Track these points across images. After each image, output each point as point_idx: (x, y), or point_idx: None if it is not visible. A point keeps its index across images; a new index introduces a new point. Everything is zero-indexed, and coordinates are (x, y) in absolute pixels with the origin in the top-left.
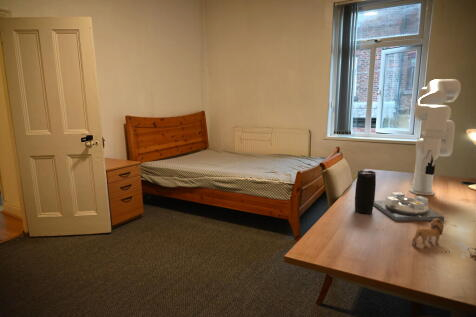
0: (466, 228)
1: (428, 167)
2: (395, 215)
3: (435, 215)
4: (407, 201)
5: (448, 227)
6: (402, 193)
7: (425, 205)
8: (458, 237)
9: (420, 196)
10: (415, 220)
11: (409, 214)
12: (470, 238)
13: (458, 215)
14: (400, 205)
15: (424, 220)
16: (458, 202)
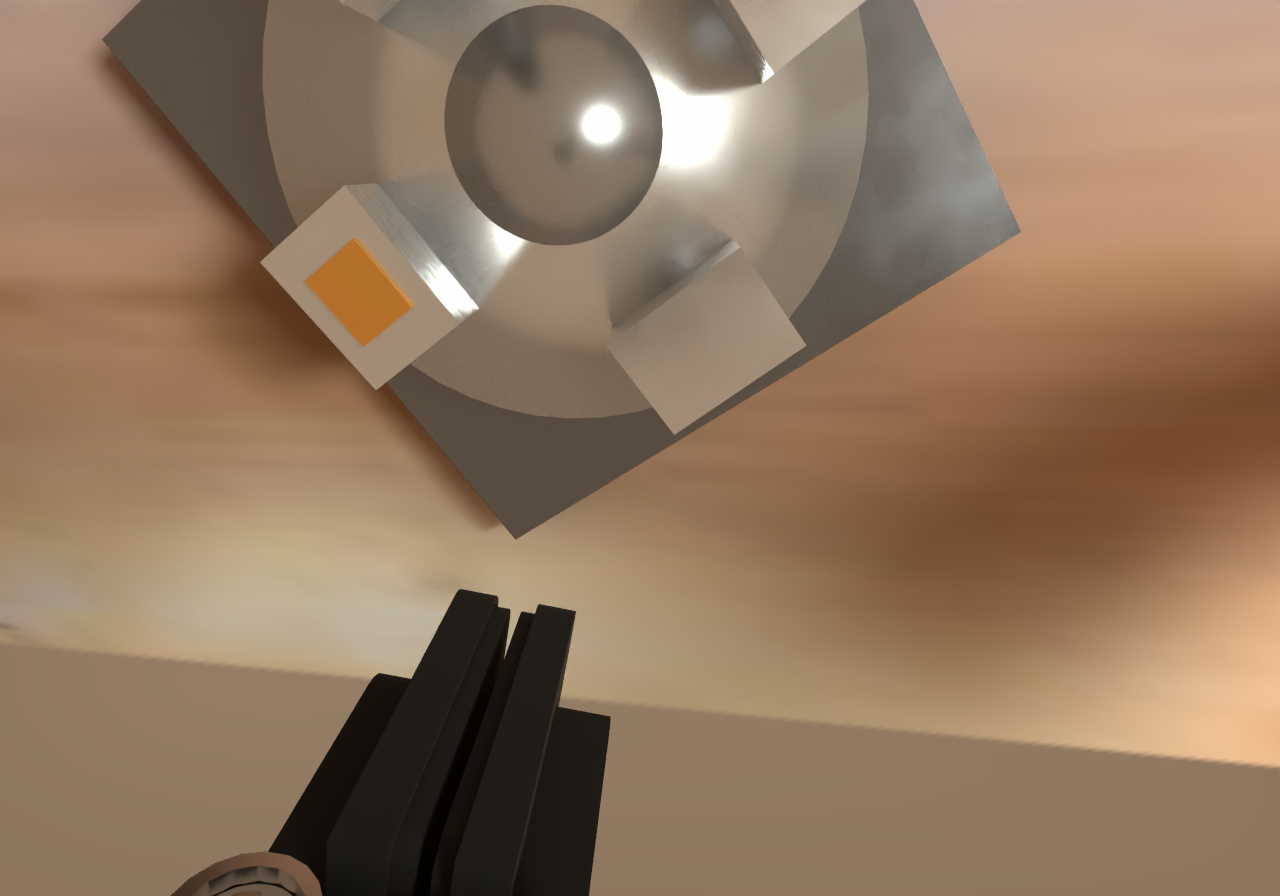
0: None
1: (286, 845)
2: (155, 26)
3: (492, 464)
4: (451, 148)
5: (361, 541)
6: (822, 27)
7: (589, 383)
8: (172, 590)
9: (772, 331)
10: None
11: None
12: (220, 658)
13: (777, 635)
14: (364, 55)
15: None
16: (1262, 671)
